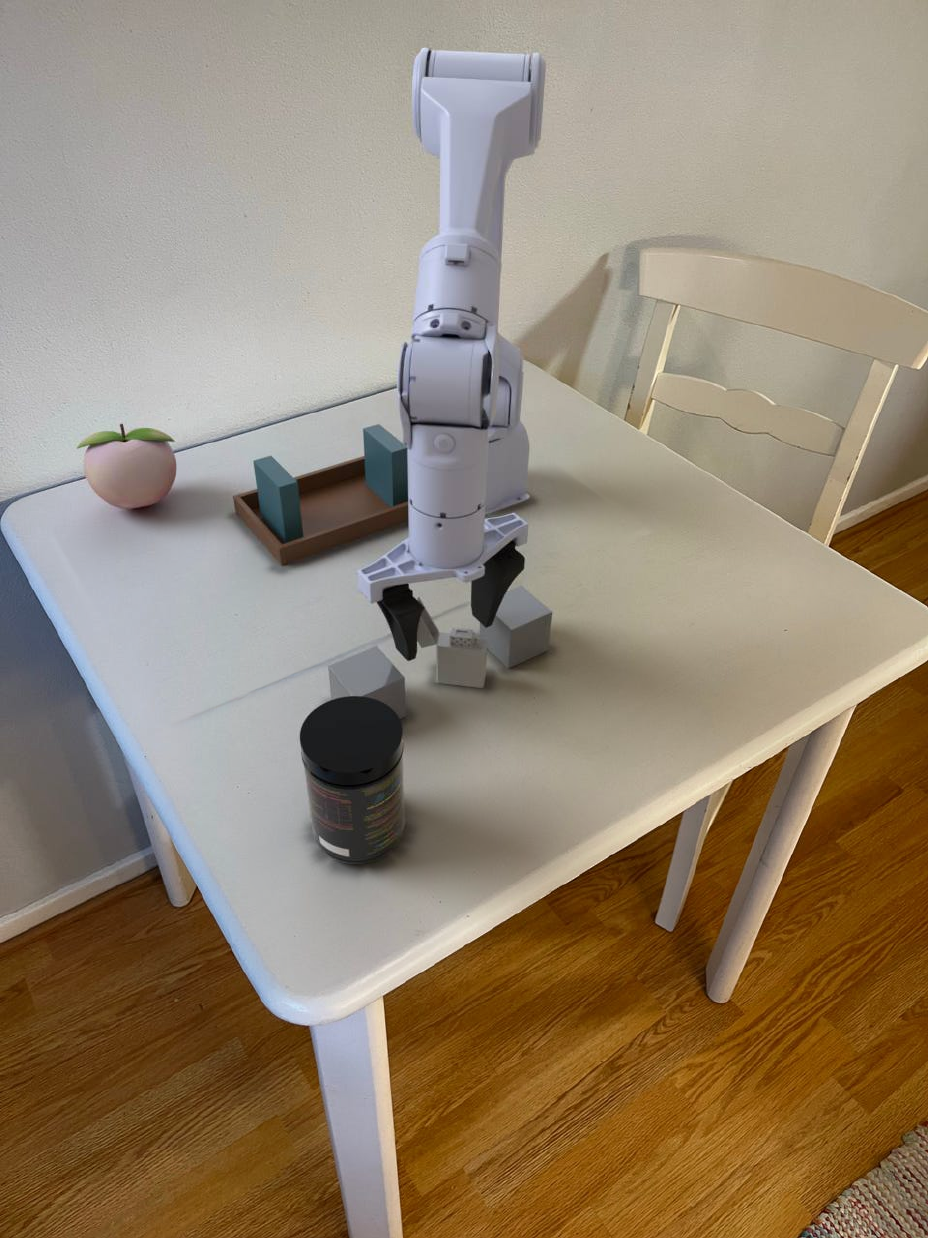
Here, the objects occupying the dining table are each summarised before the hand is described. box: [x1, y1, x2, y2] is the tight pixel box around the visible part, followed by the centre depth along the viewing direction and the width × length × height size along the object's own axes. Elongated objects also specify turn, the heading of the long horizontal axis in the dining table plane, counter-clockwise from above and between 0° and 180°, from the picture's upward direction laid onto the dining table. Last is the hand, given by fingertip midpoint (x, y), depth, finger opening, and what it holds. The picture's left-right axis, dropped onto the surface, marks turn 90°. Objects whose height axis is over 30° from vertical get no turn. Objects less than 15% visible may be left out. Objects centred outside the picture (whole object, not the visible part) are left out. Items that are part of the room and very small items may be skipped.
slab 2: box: [362, 423, 408, 507], centre depth 96 cm, size 2×6×7 cm, turn 34°
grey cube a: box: [478, 585, 553, 669], centre depth 80 cm, size 4×4×4 cm
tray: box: [232, 455, 409, 567], centre depth 95 cm, size 18×11×2 cm, turn 124°
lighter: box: [414, 596, 488, 689], centre depth 75 cm, size 7×2×8 cm, turn 82°
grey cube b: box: [327, 645, 407, 720], centre depth 73 cm, size 4×4×4 cm
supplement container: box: [299, 696, 406, 865], centre depth 62 cm, size 7×7×10 cm
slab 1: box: [253, 455, 303, 544], centre depth 91 cm, size 2×6×7 cm, turn 34°
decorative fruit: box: [76, 423, 177, 510], centre depth 93 cm, size 9×8×10 cm
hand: (444, 636), depth 75 cm, fingers open, 7 cm apart
